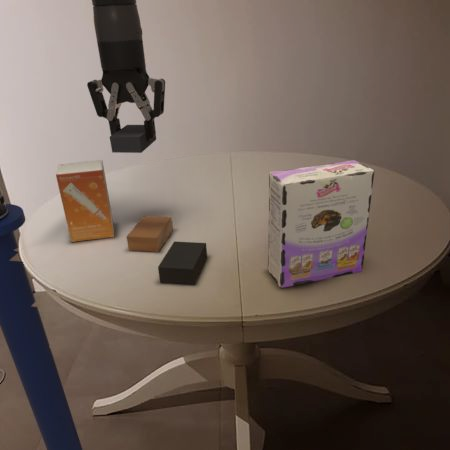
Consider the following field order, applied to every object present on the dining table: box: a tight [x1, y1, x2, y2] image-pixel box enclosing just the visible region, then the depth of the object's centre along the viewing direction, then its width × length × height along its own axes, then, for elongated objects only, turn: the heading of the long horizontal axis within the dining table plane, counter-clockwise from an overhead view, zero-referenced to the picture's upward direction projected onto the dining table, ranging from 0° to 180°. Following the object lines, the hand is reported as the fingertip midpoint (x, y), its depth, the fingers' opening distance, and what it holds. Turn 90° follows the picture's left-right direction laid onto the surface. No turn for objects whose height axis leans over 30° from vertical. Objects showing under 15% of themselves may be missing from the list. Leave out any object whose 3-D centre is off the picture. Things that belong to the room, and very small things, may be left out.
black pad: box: [157, 241, 208, 286], centre depth 76 cm, size 9×6×3 cm, turn 169°
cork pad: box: [126, 215, 174, 253], centre depth 86 cm, size 9×6×3 cm, turn 169°
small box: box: [55, 159, 115, 243], centre depth 86 cm, size 8×6×13 cm
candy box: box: [267, 159, 375, 289], centre depth 70 cm, size 14×6×16 cm, turn 106°
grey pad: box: [109, 124, 157, 154], centre depth 87 cm, size 9×6×3 cm, turn 170°
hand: (134, 140), depth 87 cm, fingers closed on grey pad, 5 cm apart
